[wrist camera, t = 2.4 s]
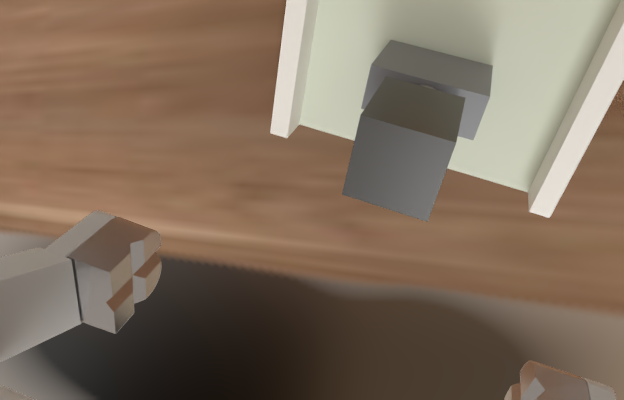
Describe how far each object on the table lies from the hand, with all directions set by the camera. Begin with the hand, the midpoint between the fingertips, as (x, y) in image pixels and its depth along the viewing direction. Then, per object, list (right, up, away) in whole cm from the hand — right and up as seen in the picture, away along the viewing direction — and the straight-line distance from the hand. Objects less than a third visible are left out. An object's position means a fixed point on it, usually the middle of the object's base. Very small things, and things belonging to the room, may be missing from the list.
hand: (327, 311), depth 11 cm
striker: (+6, +9, +14) cm, 17 cm away
